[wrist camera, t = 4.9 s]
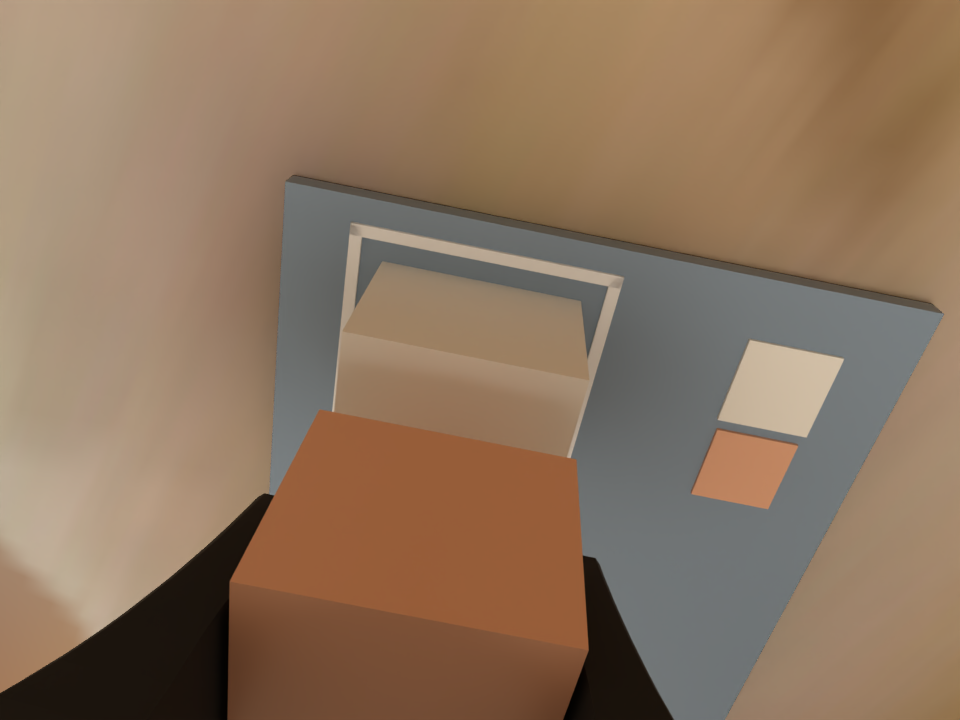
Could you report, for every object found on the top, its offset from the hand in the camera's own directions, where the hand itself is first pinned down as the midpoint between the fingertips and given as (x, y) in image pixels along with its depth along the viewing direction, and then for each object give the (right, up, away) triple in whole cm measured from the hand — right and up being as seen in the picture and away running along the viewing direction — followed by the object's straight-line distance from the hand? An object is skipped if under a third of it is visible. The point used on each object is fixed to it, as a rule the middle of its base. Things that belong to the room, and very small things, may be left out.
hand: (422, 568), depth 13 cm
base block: (+1, +3, +6) cm, 7 cm away
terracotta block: (0, 0, +1) cm, 1 cm away
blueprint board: (+3, -1, +9) cm, 10 cm away
